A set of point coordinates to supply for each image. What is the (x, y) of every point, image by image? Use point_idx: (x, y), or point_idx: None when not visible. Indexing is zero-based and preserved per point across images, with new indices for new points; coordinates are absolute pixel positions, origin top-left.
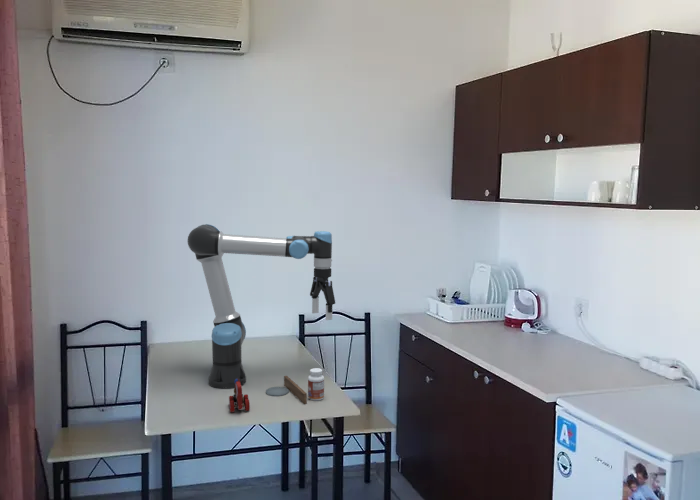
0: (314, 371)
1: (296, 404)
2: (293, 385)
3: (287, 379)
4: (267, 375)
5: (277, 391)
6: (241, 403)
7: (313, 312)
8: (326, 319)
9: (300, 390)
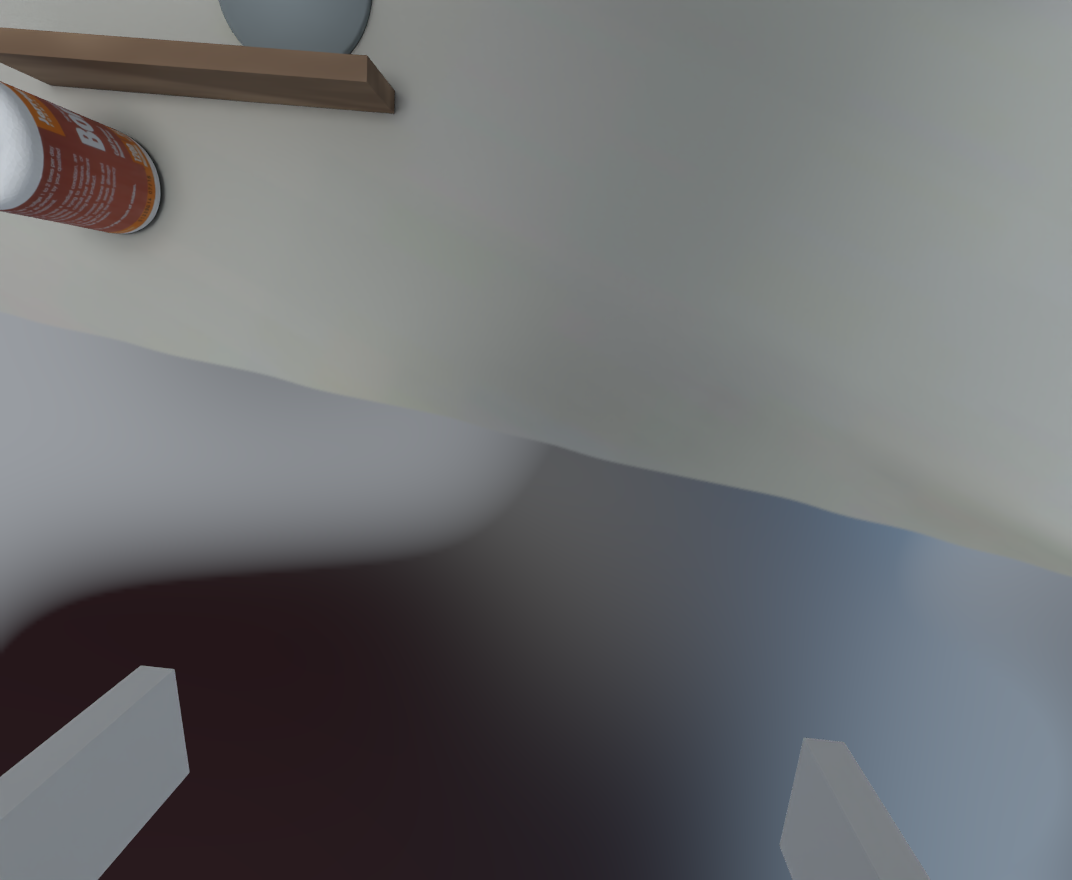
0: None
1: (56, 16)
2: (171, 44)
3: (291, 50)
4: (651, 67)
5: None
6: None
7: (812, 768)
8: (129, 676)
9: (37, 33)
